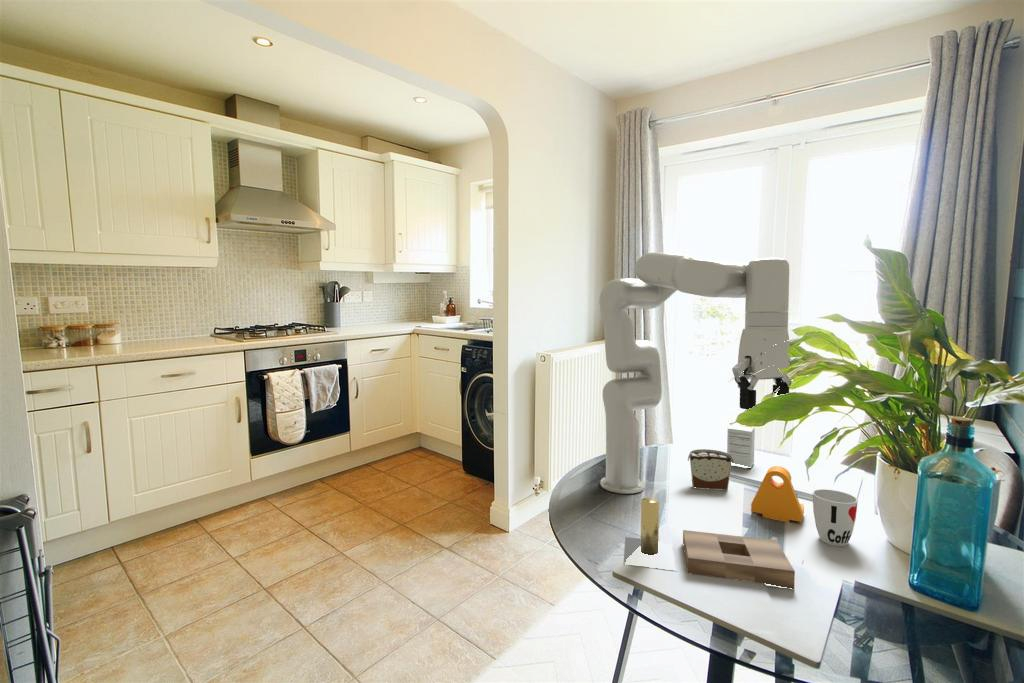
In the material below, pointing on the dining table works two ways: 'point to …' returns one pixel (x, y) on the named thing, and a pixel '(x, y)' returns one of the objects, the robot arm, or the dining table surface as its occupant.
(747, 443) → the supplement box
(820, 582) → the dining table surface
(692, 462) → the food container
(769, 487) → the bracket
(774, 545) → the mortise block
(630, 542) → the mat
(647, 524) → the peg
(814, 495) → the cup
